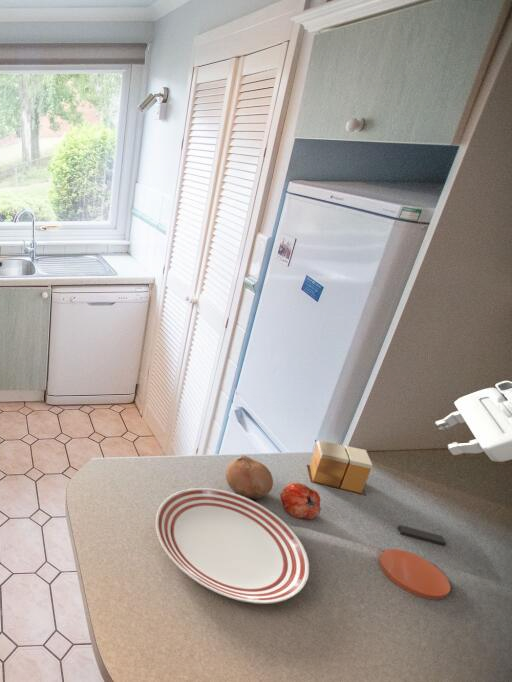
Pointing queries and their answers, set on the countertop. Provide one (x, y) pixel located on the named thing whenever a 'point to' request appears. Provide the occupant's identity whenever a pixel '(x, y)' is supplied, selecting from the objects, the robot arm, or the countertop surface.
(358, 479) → the cake slice
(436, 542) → the dark grey bar
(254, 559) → the dinner plate
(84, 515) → the countertop surface
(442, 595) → the coaster
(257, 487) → the onion
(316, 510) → the pomegranate
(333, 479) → the loaf cake
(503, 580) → the countertop surface
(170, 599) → the countertop surface
